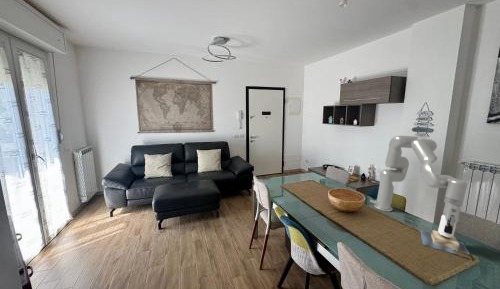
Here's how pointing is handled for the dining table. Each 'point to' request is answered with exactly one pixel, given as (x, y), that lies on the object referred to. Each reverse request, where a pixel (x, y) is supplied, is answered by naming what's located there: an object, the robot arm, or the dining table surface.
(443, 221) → the can
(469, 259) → the dining table surface
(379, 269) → the dining table surface
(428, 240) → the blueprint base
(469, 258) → the dining table surface
